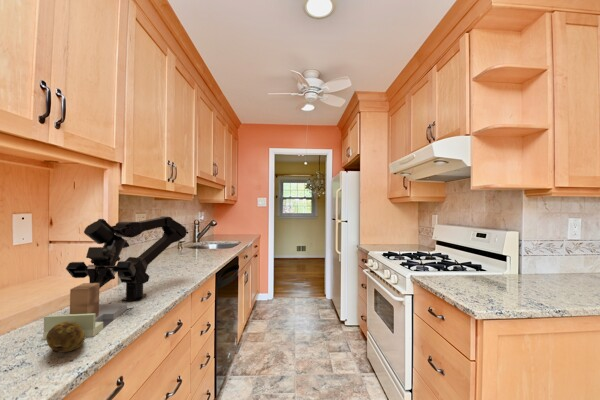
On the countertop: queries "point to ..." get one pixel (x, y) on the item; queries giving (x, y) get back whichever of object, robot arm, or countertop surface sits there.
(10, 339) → the countertop surface
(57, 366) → the countertop surface
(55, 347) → the potato
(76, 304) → the walnut block
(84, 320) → the trap board
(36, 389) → the countertop surface
